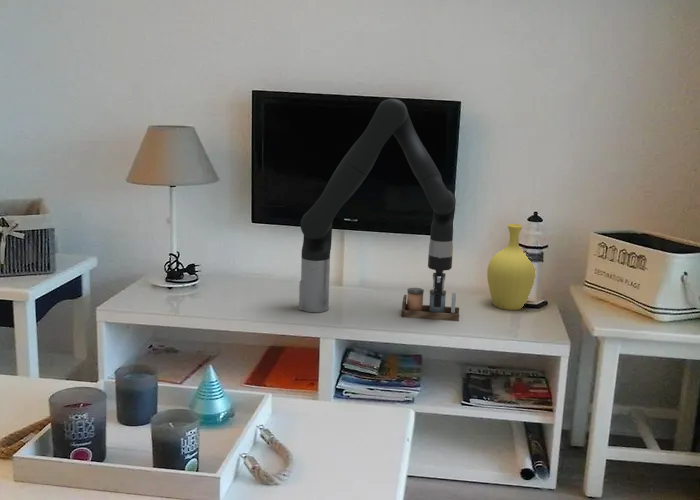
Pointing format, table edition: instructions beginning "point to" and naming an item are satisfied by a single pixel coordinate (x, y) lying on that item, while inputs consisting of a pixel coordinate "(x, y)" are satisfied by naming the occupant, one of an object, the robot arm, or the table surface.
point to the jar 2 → (431, 304)
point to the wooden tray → (429, 313)
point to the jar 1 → (415, 299)
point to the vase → (510, 274)
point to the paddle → (453, 303)
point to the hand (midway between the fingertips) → (437, 303)
